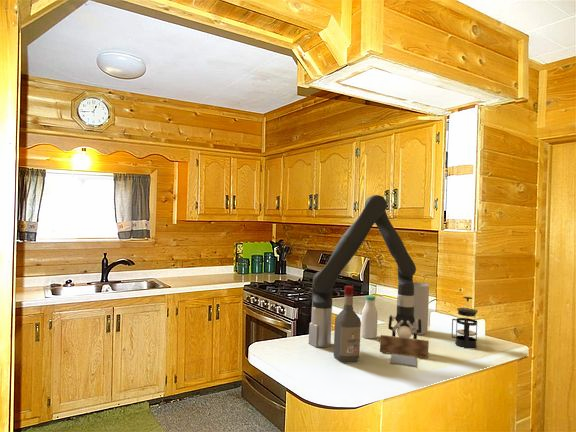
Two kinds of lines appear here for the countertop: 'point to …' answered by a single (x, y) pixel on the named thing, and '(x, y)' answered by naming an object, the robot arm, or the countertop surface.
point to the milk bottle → (369, 319)
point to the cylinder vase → (421, 306)
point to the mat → (403, 360)
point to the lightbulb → (404, 331)
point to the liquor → (347, 331)
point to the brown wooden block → (404, 346)
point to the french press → (466, 327)
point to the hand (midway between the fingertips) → (404, 340)
